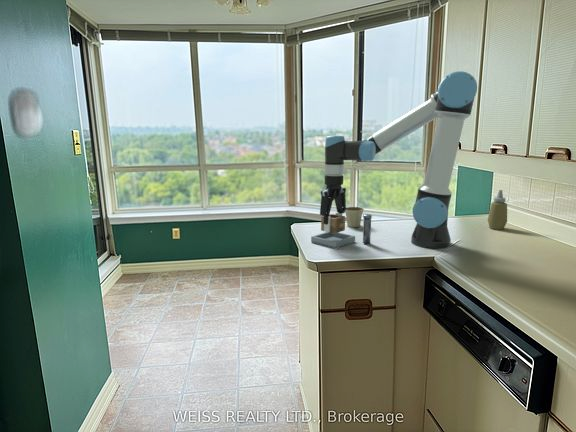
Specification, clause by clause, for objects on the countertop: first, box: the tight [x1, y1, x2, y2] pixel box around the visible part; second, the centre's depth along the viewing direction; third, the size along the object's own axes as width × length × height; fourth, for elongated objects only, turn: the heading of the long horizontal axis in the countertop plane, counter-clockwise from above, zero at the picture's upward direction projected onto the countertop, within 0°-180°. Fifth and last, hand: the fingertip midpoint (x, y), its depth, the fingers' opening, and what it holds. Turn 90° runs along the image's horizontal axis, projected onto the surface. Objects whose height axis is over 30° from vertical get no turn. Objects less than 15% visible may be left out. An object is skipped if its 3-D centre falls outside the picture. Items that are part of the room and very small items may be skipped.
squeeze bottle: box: [487, 189, 508, 231], centre depth 178 cm, size 8×8×18 cm
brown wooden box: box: [320, 213, 346, 234], centre depth 160 cm, size 9×7×6 cm
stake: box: [362, 213, 373, 245], centre depth 158 cm, size 3×3×12 cm
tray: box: [310, 231, 356, 249], centre depth 162 cm, size 13×13×2 cm
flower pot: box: [344, 206, 365, 228], centre depth 187 cm, size 9×9×9 cm
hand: (332, 229), depth 161 cm, fingers closed on brown wooden box, 7 cm apart
